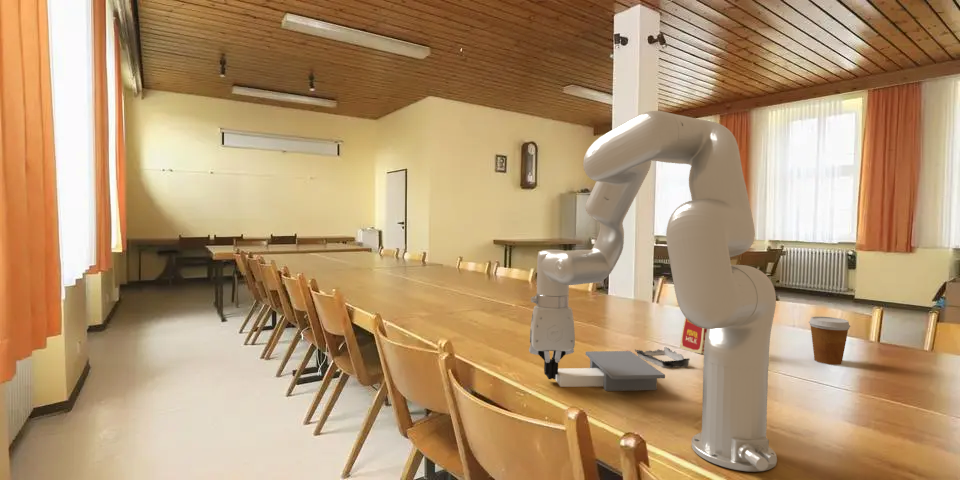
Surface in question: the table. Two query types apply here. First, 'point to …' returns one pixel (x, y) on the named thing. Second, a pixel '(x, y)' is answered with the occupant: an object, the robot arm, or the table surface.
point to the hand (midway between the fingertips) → (550, 377)
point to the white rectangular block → (580, 377)
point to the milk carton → (693, 337)
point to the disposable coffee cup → (829, 339)
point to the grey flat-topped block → (624, 370)
